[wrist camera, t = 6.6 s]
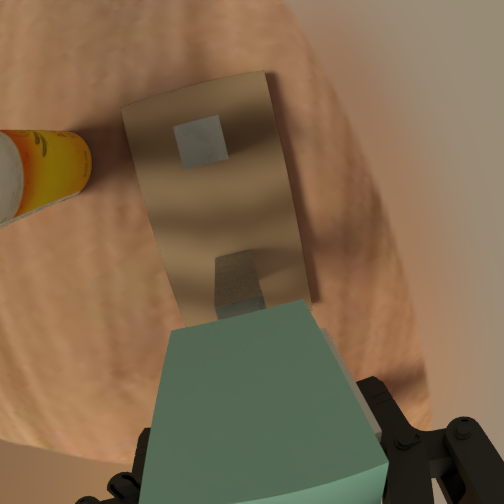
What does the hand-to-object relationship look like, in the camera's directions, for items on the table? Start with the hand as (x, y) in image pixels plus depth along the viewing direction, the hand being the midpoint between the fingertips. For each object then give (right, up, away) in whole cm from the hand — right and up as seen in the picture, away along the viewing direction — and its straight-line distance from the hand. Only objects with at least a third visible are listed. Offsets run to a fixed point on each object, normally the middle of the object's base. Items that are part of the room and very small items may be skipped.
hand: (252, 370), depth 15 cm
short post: (-4, +14, +10) cm, 18 cm away
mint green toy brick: (0, 0, 0) cm, 0 cm away
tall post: (-1, +4, +13) cm, 14 cm away
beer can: (-17, +14, +10) cm, 24 cm away
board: (-3, +9, +13) cm, 16 cm away
